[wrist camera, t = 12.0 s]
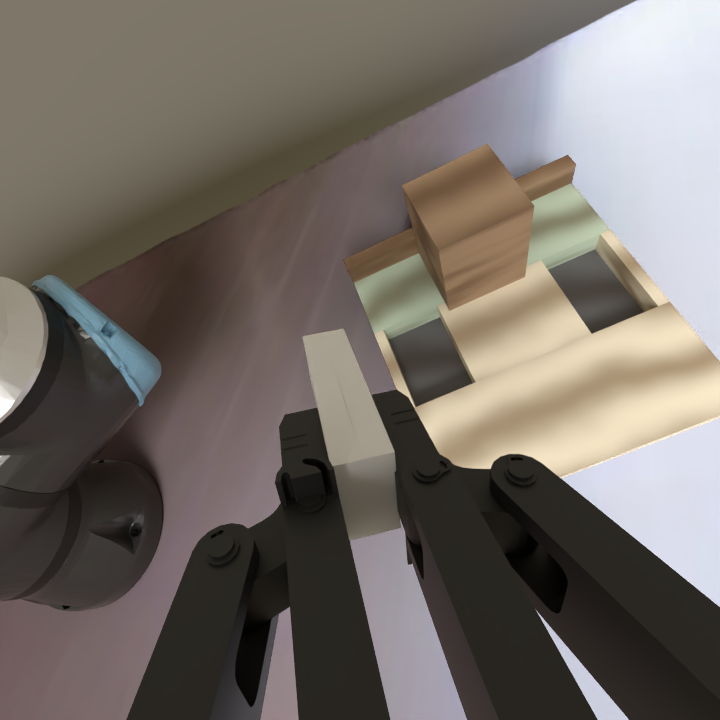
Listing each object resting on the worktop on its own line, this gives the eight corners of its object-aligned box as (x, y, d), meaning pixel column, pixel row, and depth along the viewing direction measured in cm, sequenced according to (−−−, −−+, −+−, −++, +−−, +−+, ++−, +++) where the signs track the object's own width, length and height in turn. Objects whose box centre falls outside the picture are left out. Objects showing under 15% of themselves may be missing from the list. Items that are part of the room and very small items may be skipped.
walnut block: (525, 276, 42) (534, 205, 33) (449, 310, 42) (438, 250, 34) (488, 221, 45) (487, 143, 36) (419, 253, 46) (401, 185, 37)
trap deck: (733, 412, 35) (772, 392, 30) (451, 519, 38) (445, 517, 33) (559, 194, 48) (567, 154, 43) (357, 287, 50) (343, 259, 45)
